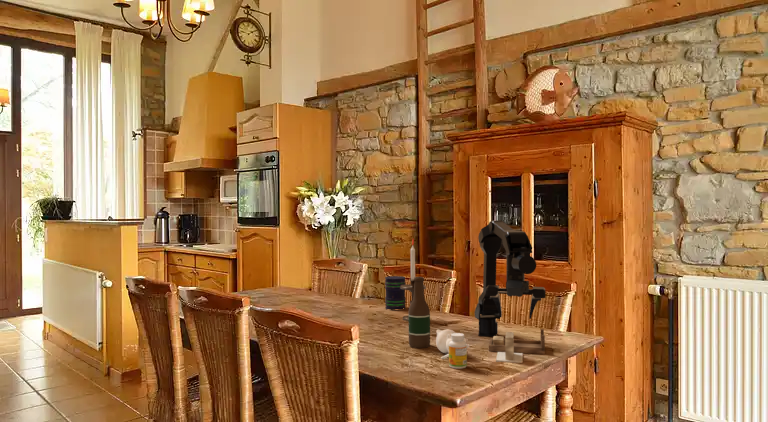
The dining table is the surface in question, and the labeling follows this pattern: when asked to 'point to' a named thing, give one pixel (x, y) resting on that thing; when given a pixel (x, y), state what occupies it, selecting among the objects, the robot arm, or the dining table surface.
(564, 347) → the dining table surface
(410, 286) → the candlestick
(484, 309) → the robot arm
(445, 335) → the cat figurine
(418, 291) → the beer bottle
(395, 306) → the storage jar
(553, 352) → the dining table surface
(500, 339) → the offcut stack
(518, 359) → the felt pad
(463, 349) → the supplement bottle
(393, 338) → the dining table surface
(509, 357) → the birch sheet
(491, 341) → the rack
